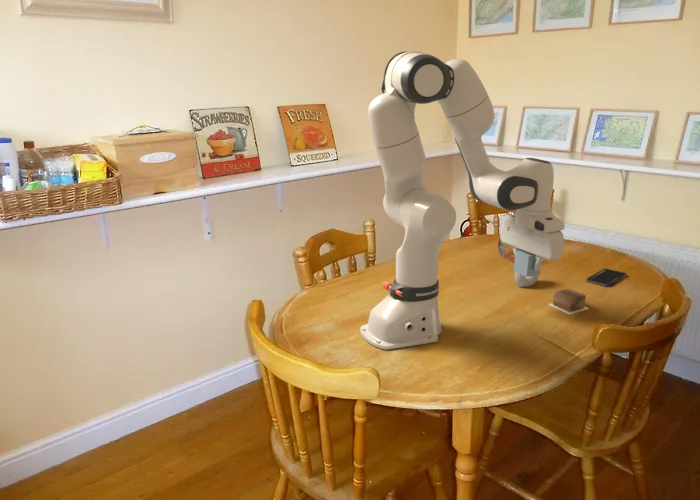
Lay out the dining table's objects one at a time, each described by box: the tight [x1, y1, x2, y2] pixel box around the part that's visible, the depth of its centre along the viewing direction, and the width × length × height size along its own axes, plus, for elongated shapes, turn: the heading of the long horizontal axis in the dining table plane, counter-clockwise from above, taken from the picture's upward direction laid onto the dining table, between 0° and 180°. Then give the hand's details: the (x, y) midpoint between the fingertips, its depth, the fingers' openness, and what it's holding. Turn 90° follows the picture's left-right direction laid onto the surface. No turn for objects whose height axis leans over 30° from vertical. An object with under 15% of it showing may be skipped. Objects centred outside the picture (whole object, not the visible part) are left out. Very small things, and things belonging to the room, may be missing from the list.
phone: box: [585, 268, 628, 288], centre depth 185 cm, size 8×1×15 cm
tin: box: [497, 238, 515, 263], centre depth 204 cm, size 15×3×8 cm, turn 17°
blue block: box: [513, 250, 542, 277], centre depth 154 cm, size 5×5×6 cm
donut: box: [514, 272, 540, 288], centre depth 177 cm, size 10×4×10 cm, turn 123°
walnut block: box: [553, 288, 587, 312], centre depth 160 cm, size 6×6×4 cm
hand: (527, 266), depth 154 cm, fingers closed on blue block, 5 cm apart
